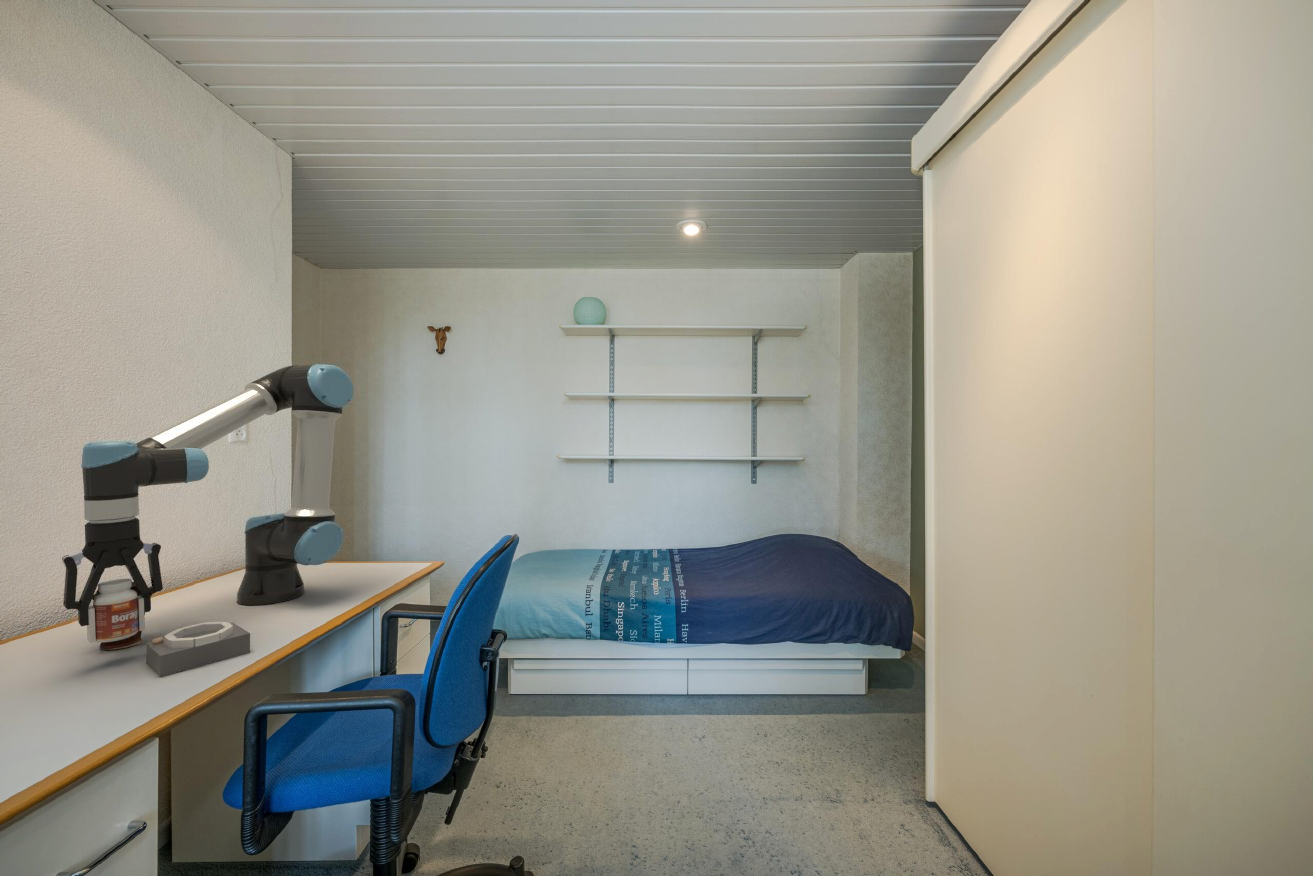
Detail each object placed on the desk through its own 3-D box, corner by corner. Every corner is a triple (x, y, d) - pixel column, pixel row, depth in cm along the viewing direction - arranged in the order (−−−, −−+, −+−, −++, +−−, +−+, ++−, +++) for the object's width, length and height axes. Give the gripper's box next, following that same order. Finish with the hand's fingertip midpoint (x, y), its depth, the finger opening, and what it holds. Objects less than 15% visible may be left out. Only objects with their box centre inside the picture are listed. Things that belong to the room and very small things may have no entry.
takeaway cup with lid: (110, 655, 108) (110, 592, 108) (79, 651, 109) (80, 589, 109) (158, 639, 116) (159, 580, 116) (129, 636, 118) (129, 578, 118)
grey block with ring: (233, 641, 116) (233, 616, 116) (250, 652, 110) (250, 626, 110) (146, 663, 104) (146, 635, 104) (159, 677, 99) (160, 647, 99)
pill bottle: (114, 644, 101) (112, 587, 101) (84, 643, 102) (82, 586, 101) (147, 631, 108) (145, 577, 107) (119, 630, 108) (117, 576, 108)
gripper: (171, 510, 114) (175, 615, 115) (35, 525, 98) (40, 647, 99) (181, 514, 109) (185, 623, 110) (40, 530, 94) (46, 657, 95)
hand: (116, 634), depth 105 cm, fingers closed on pill bottle, 6 cm apart
